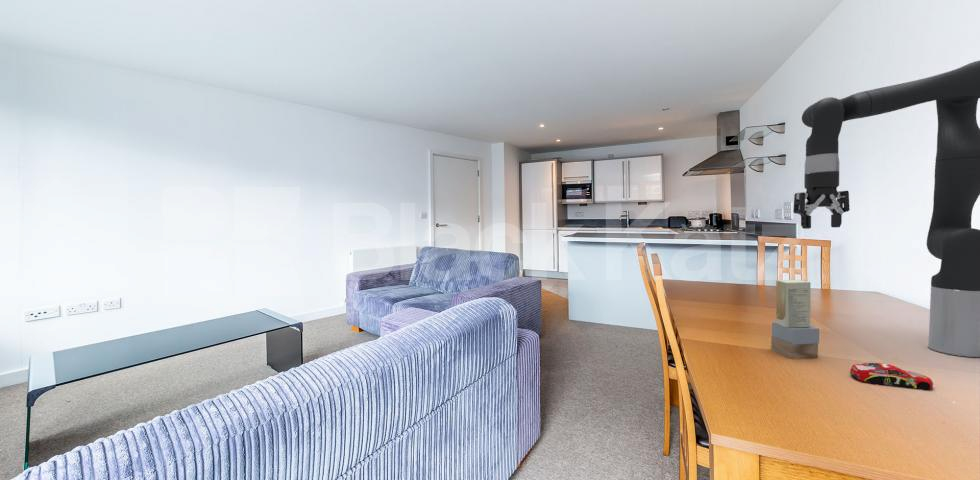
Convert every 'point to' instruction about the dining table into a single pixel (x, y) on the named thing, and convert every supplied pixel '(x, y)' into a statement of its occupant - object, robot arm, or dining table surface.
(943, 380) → the dining table surface
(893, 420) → the dining table surface
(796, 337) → the top block
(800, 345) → the bottom block
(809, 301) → the skincare box
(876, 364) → the race car
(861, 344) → the dining table surface
